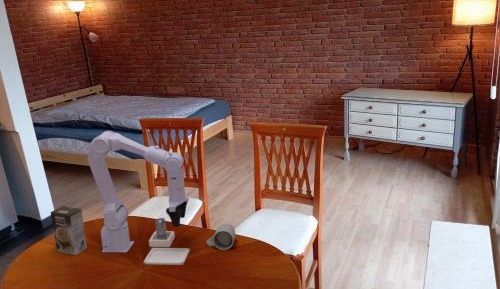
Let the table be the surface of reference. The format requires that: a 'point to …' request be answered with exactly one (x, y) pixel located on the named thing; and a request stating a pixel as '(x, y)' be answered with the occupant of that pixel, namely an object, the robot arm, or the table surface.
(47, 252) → the table surface
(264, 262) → the table surface
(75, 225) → the coffee box
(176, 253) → the tray
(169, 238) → the square socket block
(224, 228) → the ceramic mug
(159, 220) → the steel pin
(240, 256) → the table surface
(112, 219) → the robot arm
